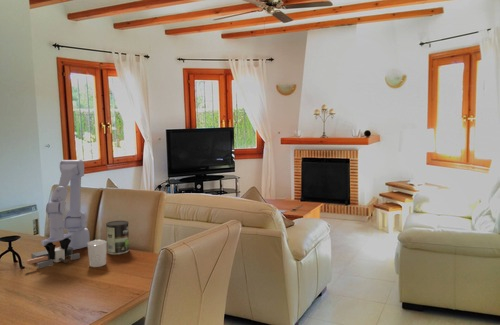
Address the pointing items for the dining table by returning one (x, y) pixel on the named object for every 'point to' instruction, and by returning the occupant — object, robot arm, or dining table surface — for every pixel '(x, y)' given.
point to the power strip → (50, 262)
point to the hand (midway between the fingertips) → (58, 257)
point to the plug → (59, 255)
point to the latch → (37, 259)
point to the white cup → (97, 253)
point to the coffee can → (117, 237)
